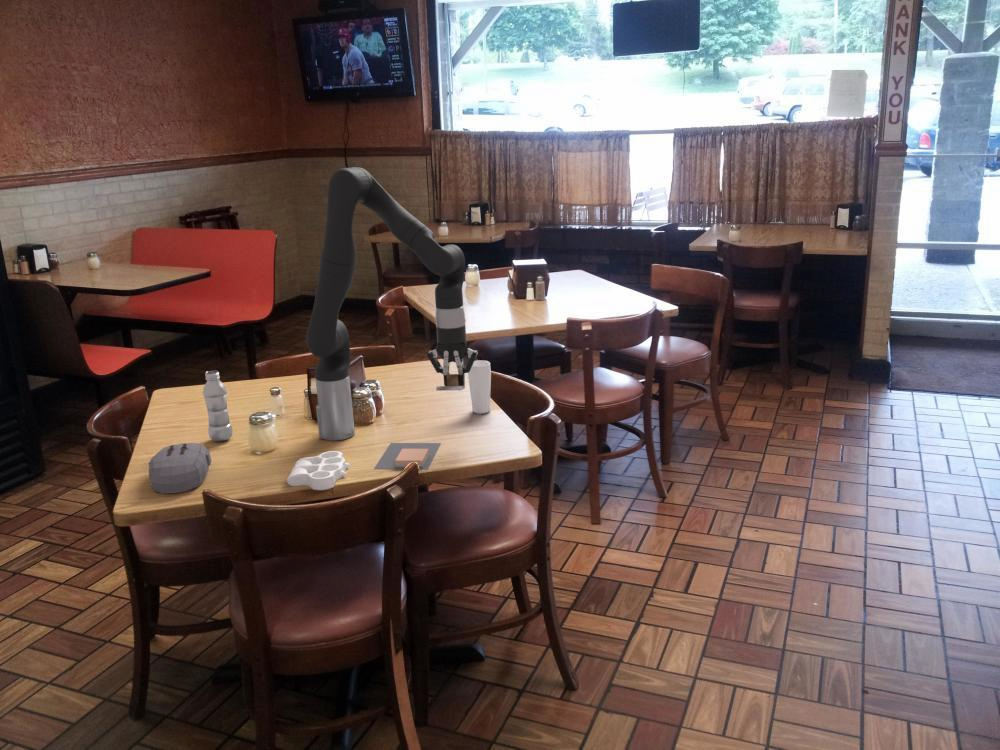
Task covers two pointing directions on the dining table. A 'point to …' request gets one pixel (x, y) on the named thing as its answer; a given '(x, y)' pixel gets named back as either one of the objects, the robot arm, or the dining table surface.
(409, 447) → the mat
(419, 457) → the tile
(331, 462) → the white compartment holder
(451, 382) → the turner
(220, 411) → the plastic bottle
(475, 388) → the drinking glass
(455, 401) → the dining table surface
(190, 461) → the grey rounded bag
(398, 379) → the dining table surface
